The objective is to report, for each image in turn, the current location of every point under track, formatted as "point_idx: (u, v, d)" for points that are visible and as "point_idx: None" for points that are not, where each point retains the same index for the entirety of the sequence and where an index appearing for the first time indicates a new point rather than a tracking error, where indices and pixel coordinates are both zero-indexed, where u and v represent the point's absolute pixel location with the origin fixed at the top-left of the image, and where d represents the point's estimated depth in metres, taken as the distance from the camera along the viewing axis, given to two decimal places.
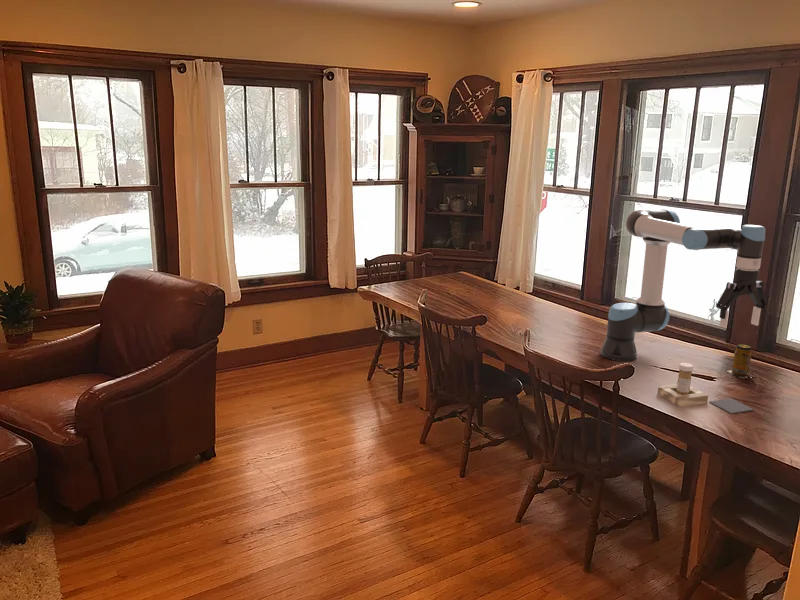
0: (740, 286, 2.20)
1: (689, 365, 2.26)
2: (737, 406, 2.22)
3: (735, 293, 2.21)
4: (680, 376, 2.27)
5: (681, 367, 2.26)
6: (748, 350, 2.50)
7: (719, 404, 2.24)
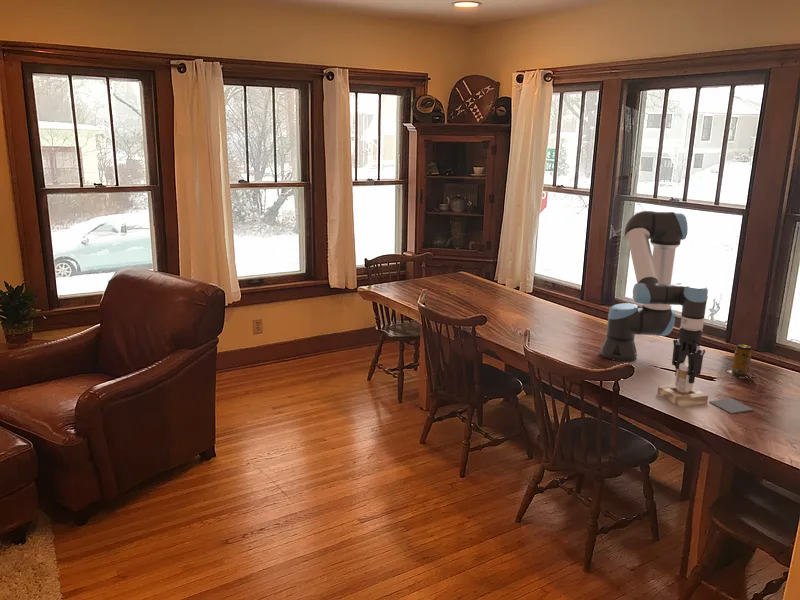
0: (681, 341, 2.27)
1: None
2: (737, 406, 2.22)
3: None
4: (680, 376, 2.27)
5: (681, 367, 2.26)
6: (748, 350, 2.50)
7: (719, 404, 2.24)
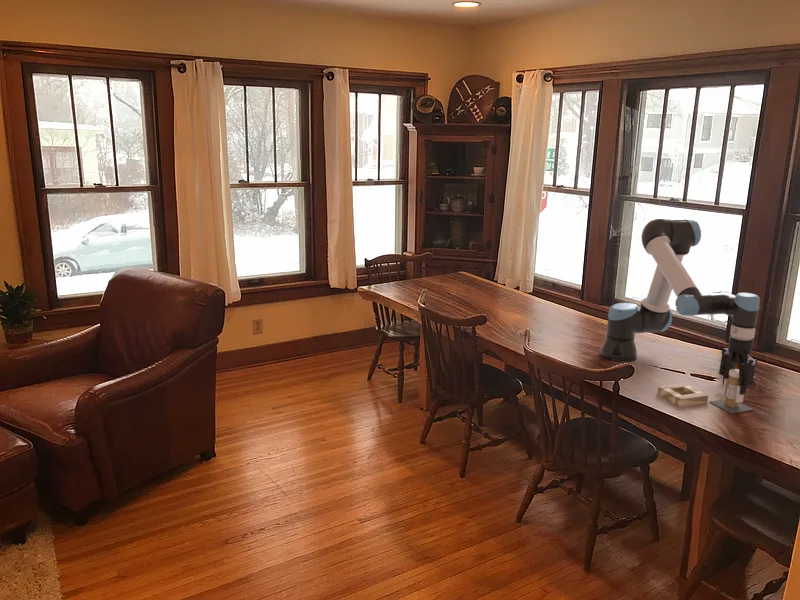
0: (730, 351, 2.21)
1: None
2: None
3: None
4: (730, 383, 2.20)
5: (731, 373, 2.19)
6: None
7: (719, 404, 2.24)
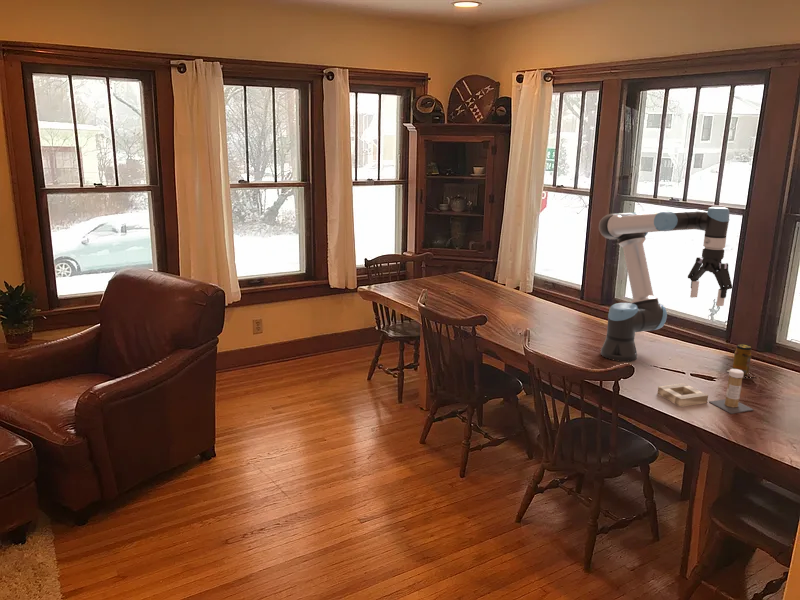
0: (703, 262, 2.41)
1: (740, 371, 2.19)
2: None
3: None
4: (730, 383, 2.20)
5: (731, 373, 2.19)
6: (748, 350, 2.50)
7: (719, 404, 2.24)
